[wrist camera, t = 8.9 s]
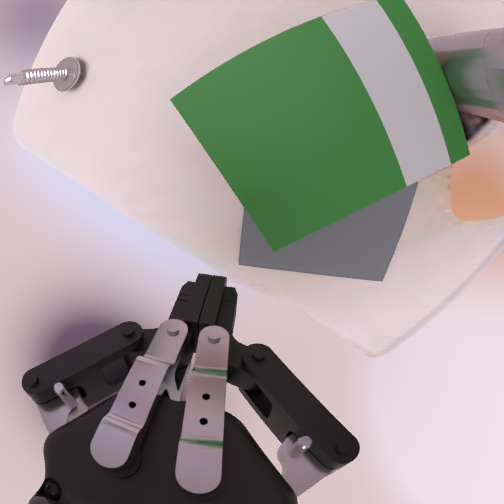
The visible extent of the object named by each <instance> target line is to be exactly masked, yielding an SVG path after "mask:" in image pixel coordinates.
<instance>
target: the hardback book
mask: <svg viewBox="0 0 504 504" xmlns="http://www.w3.org/2000/svg"><path fill="white" fill-rule="evenodd" d="M170 100H171V101H172V103H173V104H174V106H175V107H176V109H177V110H178V111H179V113H180V114H181V116H182V117H183V119H184V120H185V121H186V123H187V124H188V126H189V127H190V129H191V130H192V131H193V133H194V134H195V136H196V137H197V139H198V140H199V142H200V143H201V144H202V146H203V147H204V149H205V150H206V152H207V153H208V155H209V156H210V158H211V159H212V160H213V162H214V163H215V165H216V166H217V168H218V169H219V171H220V172H221V174H222V175H223V177H224V178H225V180H226V181H227V183H228V184H229V185H230V187H231V188H232V190H233V191H234V193H235V194H236V196H237V197H238V199H239V200H240V202H241V203H242V205H243V206H244V208H245V209H246V211H247V212H248V214H249V215H250V217H251V218H252V220H253V221H254V223H255V224H256V226H257V227H258V229H259V230H260V232H261V233H262V235H263V236H264V238H265V239H266V241H267V242H268V244H269V245H270V247H271V249H272V250H273V252H274V251H276V250H278V249H280V248H282V247H285V246H287V245H289V244H291V243H293V242H295V241H297V240H299V239H301V238H303V237H305V236H307V235H309V234H311V233H313V232H315V231H318V230H320V229H322V228H324V227H326V226H328V225H330V224H332V223H334V222H336V221H338V220H340V219H342V218H344V217H346V216H348V215H350V214H352V213H354V212H356V211H358V210H360V209H362V208H365V207H367V206H369V205H371V204H373V203H375V202H377V201H379V200H381V199H383V198H385V197H387V196H389V195H391V194H393V193H395V192H397V191H399V190H401V189H403V188H405V187H407V186H409V185H411V184H413V183H415V182H417V181H419V180H421V179H423V178H425V177H427V176H429V175H431V174H433V173H435V172H437V171H439V170H441V169H443V168H445V167H447V166H449V165H451V164H453V163H455V162H457V161H458V160H460V159H462V158H464V157H466V156H468V155H470V153H469V150H468V145H467V141H466V137H465V134H464V130H463V126H462V123H461V120H460V117H459V113H458V110H457V107H456V104H455V102H454V99H453V96H452V93H451V91H450V88H449V86H448V83H447V81H446V78H445V76H444V73H443V71H442V69H441V66H440V64H439V62H438V60H437V58H436V56H435V54H434V52H433V50H432V48H431V46H430V44H429V42H428V40H427V38H426V36H425V34H424V32H423V31H422V29H421V27H420V25H419V24H418V22H417V20H416V19H415V17H414V15H413V14H412V12H411V10H410V9H409V7H408V6H407V4H406V3H405V1H404V0H374V1H370V2H366V3H362V4H358V5H355V6H351V7H348V8H345V9H342V10H339V11H336V12H333V13H330V14H327V15H324V16H321V17H319V18H316V19H313V20H311V21H308V22H306V23H303V24H301V25H298V26H296V27H294V28H291V29H289V30H287V31H285V32H282V33H280V34H278V35H276V36H274V37H272V38H270V39H268V40H266V41H264V42H262V43H260V44H258V45H256V46H254V47H252V48H250V49H248V50H246V51H244V52H243V53H241V54H239V55H237V56H236V57H234V58H232V59H230V60H229V61H227V62H225V63H224V64H222V65H220V66H219V67H217V68H215V69H214V70H212V71H211V72H209V73H208V74H206V75H205V76H203V77H201V78H200V79H198V80H197V81H195V82H194V83H193V84H191V85H190V86H188V87H187V88H185V89H184V90H183V91H181V92H180V93H178V94H177V95H176V96H174V97H173V98H172V99H170Z"/></svg>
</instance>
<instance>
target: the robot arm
mask: <svg viewBox="0 0 504 504" xmlns="http://www.w3.org/2000/svg"><path fill="white" fill-rule="evenodd" d="M428 42H429V44H430V46H431V48H432V50H433V52H434V54H435V56H436V58H437V60H438V62H439V64H440V66H441V69H442V71H443V73H444V76H445V78H446V81H447V83H448V86H449V88H450V91H451V93H452V96H453V99H454V102H455V104H456V107H457V110H458V111H460V112H465V113H469V114H474V115H478V116H482V117H486V118H489V119H493V120H497V121H500V122H503V123H504V28H497V29H488V30H480V31H472V32H466V33H460V34H454V35H449V36H444V37H439V38H435V39H431V40H428ZM226 283H227V277H222V276H215V275H213V276H212V275H207V274H200V273H199V274H198V277H197V279H196V282H190V281H188V282H187V283H186V284H185V285H183V286H182V288H181V290H180V293H179V295H178V298H177V300H176V302H175V305H174V307H173V310H172V312H171V314H170V317H169V320H166V321H164V322H163V323H162V324H161V325H160V327H159V328H155V329H142V328H141V326H140V325H139V324H138V323H136V322H131V321H129V322H124V323H121V324H120V325H118V326H116V327H114V328H112V329H110V330H108V331H106V332H104V333H102V334H100V335H98V336H96V337H94V338H92V339H90V340H88V341H86V342H84V343H82V344H80V345H78V346H77V347H74V348H72V349H70V350H68V351H66V352H64V353H62V354H60V355H58V356H56V357H54V358H52V359H50V360H48V361H46V362H45V363H42V364H40V365H39V366H36V367H35V368H32V369H30V370H29V371H27V372H26V373H25V374H24V376H23V379H22V387H23V389H24V390H25V391H26V393H27V394H28V395H29V396H30V397H31V398H32V400H33V401H34V402H35V403H36V404H37V406H38V409H39V411H40V413H41V416H42V418H43V421H44V423H45V425H46V427H47V430H48V432H49V435H48V437H47V439H46V440H45V443H44V451H43V452H44V460H45V480H44V482H43V484H42V486H41V487H40V489H39V490H38V491H37V492H36V494H35V495H34V496H33V497H32V498H31V499H30V501H29V504H298V502H297V496H299V495H300V494H302V493H303V492H305V491H306V490H307V489H309V488H310V487H312V486H313V485H315V484H316V483H317V482H319V481H320V480H321V479H323V478H324V477H326V476H328V475H329V474H331V473H333V472H335V471H336V470H338V469H340V468H341V467H343V466H345V465H346V464H348V463H350V462H351V461H353V460H354V459H355V458H356V457H357V455H358V454H359V449H360V446H359V442H358V441H357V439H356V438H355V437H354V436H353V435H352V434H351V433H350V432H349V431H348V430H347V429H346V428H345V427H344V426H343V425H342V424H341V423H340V422H339V421H338V420H337V419H336V418H335V417H334V416H333V415H332V414H331V413H330V412H329V411H328V410H327V409H326V408H325V407H324V406H323V405H322V404H321V403H320V402H319V400H317V399H316V397H315V396H314V395H313V394H312V393H311V392H310V391H309V390H308V389H307V388H306V387H305V386H304V385H303V384H302V383H301V381H299V379H298V378H297V377H296V376H295V375H294V374H293V373H292V372H291V371H290V370H289V369H288V368H287V366H286V365H285V364H284V363H283V362H282V361H281V360H280V359H279V358H278V356H277V355H276V354H275V353H274V352H273V351H272V350H271V349H270V348H269V347H268V346H266V345H263V344H251V345H249V346H246V345H243V344H241V343H239V342H238V341H236V340H235V339H234V337H233V335H232V334H233V328H234V322H235V316H236V305H237V296H238V294H237V292H236V289H235V288H233V287H226ZM193 353H196V356H195V363H194V368H193V369H192V370H191V374H190V380H189V386H188V393H187V399H186V401H180V394H181V391H182V388H183V386H184V383H185V380H186V377H187V375H188V372H189V369H190V366H191V359H192V355H193ZM226 382H228V383H230V384H232V385H235V386H237V387H239V390H240V392H241V393H242V395H243V396H244V397H245V399H246V400H247V401H248V402H249V404H250V405H251V406H252V408H253V409H254V410H255V411H256V413H257V414H258V415H259V416H260V418H261V419H262V420H263V421H264V422H265V424H266V425H267V426H268V427H269V429H270V430H271V431H272V432H273V433H274V435H275V436H276V437H277V438H278V440H279V441H280V442H281V443H282V445H281V446H280V447H279V449H278V452H277V456H278V460H279V461H280V463H281V465H282V469H283V470H282V475H281V474H280V473H279V472H278V470H277V469H276V468H275V467H274V465H273V464H272V463H271V461H270V460H269V459H268V458H267V456H266V455H265V454H264V452H263V451H262V450H261V448H260V447H259V445H258V444H257V443H256V441H255V440H254V439H253V437H252V436H251V434H250V433H249V432H248V430H247V429H246V427H245V426H244V425H243V424H242V423H241V422H240V421H239V420H238V419H237V418H236V417H234V416H233V415H231V414H230V413H228V412H225V397H226ZM119 389H120V391H119V393H118V394H116V395H114V396H112V397H110V398H108V399H107V400H105V401H103V402H102V403H100V404H98V405H97V406H95V407H93V408H92V409H90V410H88V407H89V406H91V405H92V404H94V403H96V402H98V401H100V400H102V399H103V398H105V397H107V396H108V395H111V394H112V393H114V392H116V391H118V390H119ZM87 410H88V411H87Z"/></svg>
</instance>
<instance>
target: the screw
mask: <svg viewBox="0 0 504 504" xmlns="http://www.w3.org/2000/svg"><path fill="white" fill-rule="evenodd" d="M81 73H82V71H81V69H80V64H79V61H78V60H77V59H76V58H74V57H67V58H65V59H63V60H62V61H61V62H60V63H59V64H58V65H57V67H56V68H40V69H39V68H38V69H27V70H23V71H21V72H20V73H13V74H9V75H8V76H7V78H5V80H4V84H5V85H11V84H18V85H21V84H22V85H25V84H26V85H28V84H35V83H44V82H54V86H55V88H56V89H57V90H59V91H67V90H69V89H71V88H72V87H73V86H74V85H75V84H76V82H77V81H78V79H79V77H80V75H81Z"/></svg>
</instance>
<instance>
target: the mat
mask: <svg viewBox="0 0 504 504" xmlns="http://www.w3.org/2000/svg"><path fill="white" fill-rule="evenodd" d="M417 184H418V181H417V182H415V183H413V184H411V185H409V186H407V187H405V188H403V189H401V190H399V191H397V192H395V193H393V194H391V195H389V196H387V197H385V198H383V199H381V200H379V201H377V202H375V203H373V204H371V205H369V206H367V207H365V208H362V209H360V210H358V211H356V212H354V213H352V214H350V215H348V216H346V217H344V218H342V219H340V220H338V221H336V222H334V223H332V224H330V225H328V226H326V227H324V228H322V229H320V230H318V231H315V232H313V233H311V234H309V235H307V236H305V237H303V238H301V239H299V240H297V241H295V242H293V243H291V244H289V245H287V246H285V247H282V248H280V249H278V250H276V251H274V252H273V250H272V249H271V247H270V245H269V244H268V242H267V241H266V239H265V238H264V236H263V235H262V233H261V232H260V230H259V229H258V227H257V226H256V224H255V223H254V221H253V220H252V218H251V217H250V215H249V214H248V212H247V211H246V209H245V208H244V218H243V227H242V237H241V246H240V256H239V265H245V266H253V267H261V268H269V269H277V270H285V271H294V272H302V273H311V274H319V275H328V276H337V277H346V278H355V279H364V280H373V281H383V278H384V276H385V274H386V271H387V269H388V267H389V264H390V262H391V259H392V257H393V254H394V252H395V249H396V247H397V244H398V241H399V239H400V236H401V233H402V231H403V228H404V225H405V222H406V219H407V216H408V213H409V210H410V207H411V204H412V201H413V198H414V195H415V191H416V188H417Z"/></svg>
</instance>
